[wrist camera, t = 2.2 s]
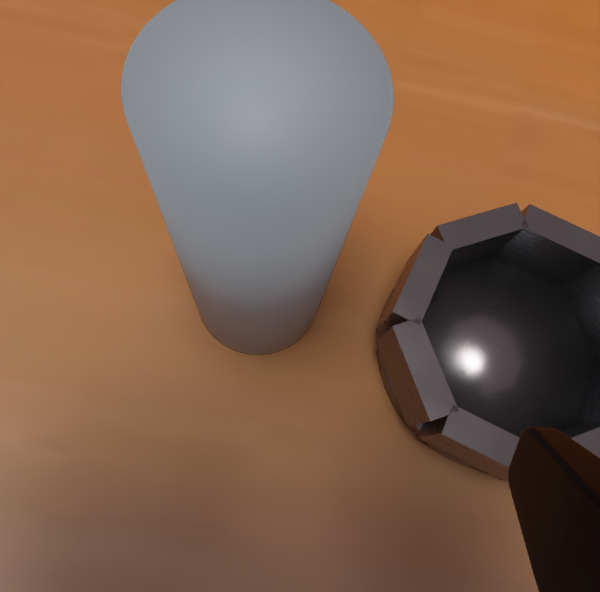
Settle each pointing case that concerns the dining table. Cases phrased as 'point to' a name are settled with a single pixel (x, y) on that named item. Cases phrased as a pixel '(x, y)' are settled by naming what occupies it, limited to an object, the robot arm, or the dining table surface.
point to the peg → (257, 151)
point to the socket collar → (496, 335)
